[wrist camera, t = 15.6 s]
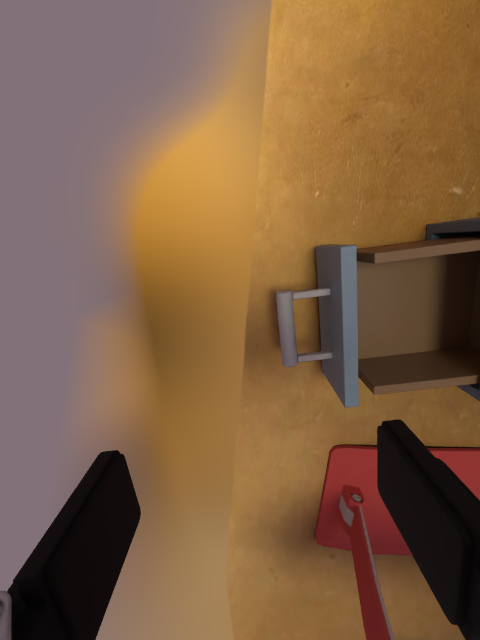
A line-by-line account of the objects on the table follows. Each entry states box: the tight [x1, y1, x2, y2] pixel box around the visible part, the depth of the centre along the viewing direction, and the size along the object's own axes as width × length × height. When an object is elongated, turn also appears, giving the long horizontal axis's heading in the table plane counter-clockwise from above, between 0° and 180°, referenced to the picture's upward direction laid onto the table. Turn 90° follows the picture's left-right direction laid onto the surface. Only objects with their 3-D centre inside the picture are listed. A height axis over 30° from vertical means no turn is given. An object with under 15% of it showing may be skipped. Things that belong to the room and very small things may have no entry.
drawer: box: [276, 233, 480, 408], centre depth 25 cm, size 20×14×7 cm
